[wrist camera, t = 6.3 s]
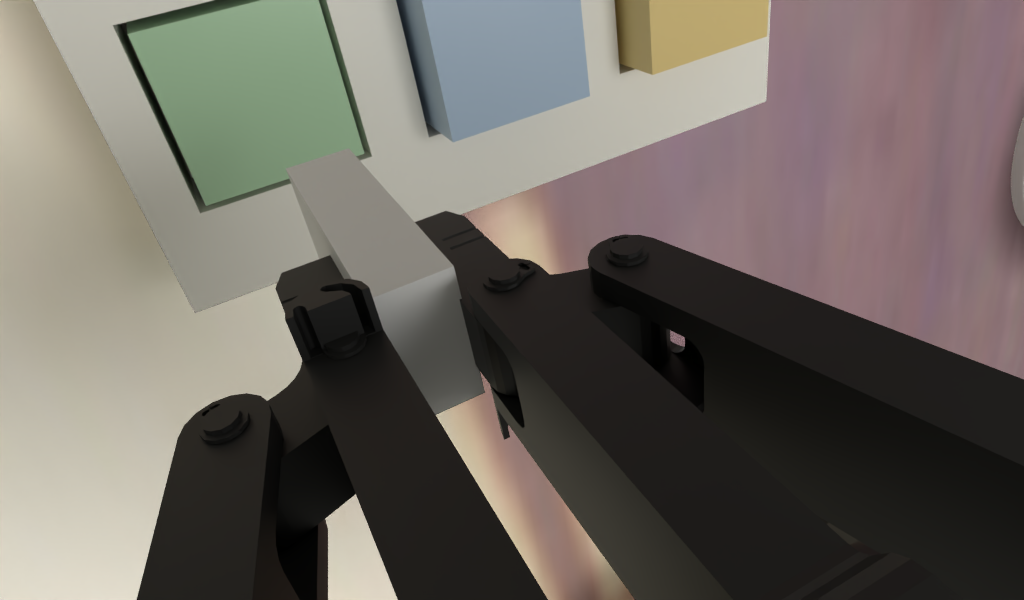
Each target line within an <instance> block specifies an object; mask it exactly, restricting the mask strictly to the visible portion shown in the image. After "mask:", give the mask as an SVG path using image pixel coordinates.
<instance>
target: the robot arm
mask: <svg viewBox="0 0 1024 600" xmlns="http://www.w3.org/2000/svg"><path fill="white" fill-rule="evenodd" d="M286 171H287V174H288V176H289V179H290V182H291V184H292V187H293V190H294V192H295V195H296V198H297V200H298V203H299V206H300V208H301V211H302V214H303V216H304V219H305V222H306V225H307V227H308V230H309V233H310V235H311V238H312V241H313V243H314V246H315V249H316V251H317V254H318V257H319V259H318V260H315V261H313V262H310V263H307V264H304V265H302V266H299V267H296V268H294V269H291V270H288V271H285V272H283V273H281V275H280V278H279V281H278V283H277V286H276V291H277V294H278V296H279V299H280V301H281V304H282V306H283V309H284V311H285V320H286V322H287V325H288V327H289V329H290V332H291V334H292V336H293V339H294V341H295V343H296V346H297V348H298V350H299V353H300V355H301V357H302V365H301V369H300V371H299V373H298V374H297V376H296V378H295V379H294V380H293V381H292V382H291V383H290V384H289V385H288V387H286V388H285V389H284V390H282V391H281V392H280V393H279V394H277V395H276V396H274V397H273V398H271V399H270V400H268V401H266V400H265V399H264V398H262V397H261V396H258V395H253V394H247V393H246V394H239V395H232V396H228V397H226V398H223V399H220V400H218V401H215V402H213V403H211V404H210V405H208V406H206V407H205V408H203V409H202V410H200V411H199V412H197V413H196V414H195V415H194V416H193V417H192V418H191V419H190V420H189V421H188V422H187V423H186V424H185V425H184V427H183V429H182V431H181V433H180V435H179V437H178V440H177V444H176V448H175V452H174V456H173V460H172V464H171V468H170V471H169V475H168V479H167V483H166V487H165V491H164V495H163V499H162V503H161V507H160V511H159V515H158V519H157V523H156V526H155V530H154V534H153V538H152V542H151V546H150V550H149V554H148V558H147V562H146V566H145V570H144V574H143V578H142V581H141V585H140V589H139V593H138V597H137V600H328V528H327V524H326V520H325V518H326V517H328V516H329V515H330V514H331V513H333V512H334V511H335V510H336V509H337V508H339V507H340V506H341V505H342V504H344V503H345V502H346V501H347V500H349V499H350V498H351V497H352V496H354V495H355V494H356V495H357V498H358V500H359V503H360V505H361V508H362V510H363V513H364V515H365V518H366V520H367V523H368V526H369V528H370V531H371V533H372V536H373V538H374V541H375V543H376V546H377V548H378V551H379V553H380V556H381V558H382V561H383V563H384V566H385V568H386V571H387V573H388V576H389V578H390V581H391V583H392V586H393V588H394V591H395V593H396V596H397V598H398V600H548V599H547V598H546V596H545V594H544V593H543V591H542V589H541V588H540V586H539V584H538V583H537V581H536V579H535V578H534V576H533V575H532V573H531V571H530V570H529V568H528V566H527V565H526V563H525V561H524V560H523V558H522V556H521V555H520V553H519V552H518V550H517V548H516V547H515V545H514V543H513V542H512V540H511V538H510V537H509V535H508V533H507V532H506V530H505V529H504V527H503V525H502V524H501V522H500V520H499V519H498V517H497V515H496V514H495V512H494V510H493V509H492V507H491V506H490V504H489V502H488V501H487V499H486V497H485V496H484V494H483V492H482V491H481V489H480V488H479V486H478V484H477V483H476V481H475V479H474V478H473V476H472V474H471V473H470V471H469V469H468V468H467V466H466V465H465V463H464V461H463V460H462V458H461V456H460V455H459V453H458V451H457V450H456V448H455V446H454V445H453V443H452V442H451V440H450V438H449V437H448V435H447V433H446V432H445V430H444V428H443V427H442V425H441V423H440V422H439V420H438V419H437V417H436V414H438V413H441V412H443V411H445V410H447V409H450V408H452V407H454V406H456V405H458V404H461V403H463V402H465V401H467V400H469V399H472V398H474V397H476V396H478V395H480V394H483V393H485V391H484V387H483V382H482V378H481V374H480V371H481V373H482V374H483V375H484V377H485V378H486V379H487V381H488V382H489V383H490V386H491V390H492V394H493V398H494V403H495V407H496V411H497V415H498V419H499V424H500V428H501V431H502V434H503V437H504V439H506V438H509V437H510V435H509V431H508V425H509V426H510V427H511V429H512V430H513V431H514V433H515V434H516V436H517V437H518V438H519V440H520V441H521V443H522V444H523V445H524V447H525V448H526V449H527V451H528V452H529V454H530V455H531V456H532V458H533V459H534V460H535V462H536V463H537V465H538V466H539V467H540V469H541V470H542V472H543V473H544V474H545V476H546V477H547V478H548V480H549V481H550V483H551V484H552V485H553V487H554V488H555V490H556V491H557V492H558V494H559V495H560V496H561V498H562V499H563V501H564V502H565V503H566V505H567V506H568V507H569V509H570V510H571V512H572V513H573V514H574V516H575V517H576V519H577V520H578V521H579V523H580V524H581V525H582V527H583V528H584V530H585V531H586V532H587V534H588V535H589V537H590V538H591V539H592V541H593V542H594V543H595V545H596V546H597V548H598V549H599V550H600V552H601V553H602V555H603V556H604V557H605V559H606V560H607V561H608V563H609V564H610V566H611V567H612V568H613V570H614V571H615V572H616V574H617V575H618V577H619V578H620V579H621V581H622V582H623V584H624V585H625V586H626V588H627V589H628V590H629V592H630V593H631V595H632V596H633V597H634V599H635V600H1024V379H1021V378H1018V377H1016V376H1013V375H1010V374H1008V373H1005V372H1003V371H1000V370H997V369H995V368H992V367H989V366H987V365H984V364H982V363H979V362H976V361H974V360H971V359H968V358H966V357H963V356H961V355H958V354H955V353H953V352H950V351H948V350H945V349H942V348H940V347H937V346H934V345H932V344H929V343H927V342H924V341H921V340H919V339H916V338H913V337H911V336H908V335H906V334H903V333H900V332H898V331H895V330H892V329H890V328H887V327H885V326H882V325H879V324H877V323H874V322H872V321H869V320H866V319H864V318H861V317H858V316H856V315H853V314H851V313H848V312H845V311H843V310H840V309H837V308H835V307H832V306H830V305H827V304H824V303H822V302H819V301H816V300H814V299H811V298H809V297H806V296H803V295H801V294H798V293H796V292H793V291H790V290H788V289H785V288H782V287H780V286H777V285H775V284H772V283H769V282H767V281H764V280H761V279H759V278H756V277H754V276H751V275H748V274H746V273H743V272H741V271H738V270H735V269H733V268H730V267H727V266H725V265H722V264H720V263H717V262H714V261H712V260H709V259H706V258H704V257H701V256H699V255H696V254H693V253H691V252H688V251H685V250H683V249H680V248H678V247H675V246H672V245H670V244H667V243H665V242H662V241H659V240H657V239H654V238H650V237H646V236H642V235H620V236H615V237H612V238H609V239H607V240H605V241H602V242H600V243H598V244H597V245H596V246H595V247H594V248H593V249H591V251H590V253H589V256H588V265H589V268H588V269H583V270H578V271H573V272H568V273H562V274H554V275H549V274H548V273H547V272H546V271H545V270H544V269H543V268H541V267H540V266H539V265H537V264H536V263H534V262H532V261H530V260H524V259H518V258H516V259H509V258H508V257H507V256H506V255H505V254H504V253H503V252H502V251H501V250H500V249H498V248H497V247H496V246H495V245H494V244H493V243H492V242H491V241H490V240H489V239H488V238H487V237H484V234H483V233H482V232H480V231H479V230H478V229H476V228H475V226H474V225H473V224H472V223H471V222H470V221H469V220H468V219H467V218H466V217H465V216H462V215H458V214H455V213H452V212H449V211H444V212H441V213H438V214H436V215H433V216H430V217H427V218H425V219H422V220H419V221H416V222H414V221H413V220H412V219H411V217H410V216H409V215H408V214H407V213H406V212H405V211H404V210H403V209H402V207H401V206H400V205H399V204H398V203H397V202H396V201H395V200H394V198H393V197H392V196H391V195H390V194H389V193H388V192H387V191H386V189H385V188H384V187H383V186H382V185H381V184H380V183H379V182H378V180H377V179H376V178H375V177H374V176H373V175H372V174H371V173H370V171H369V170H368V169H367V168H366V167H365V166H364V165H363V164H362V162H361V161H360V160H359V159H358V158H357V157H356V156H355V155H354V153H353V152H352V151H351V150H350V149H349V148H348V149H345V150H342V151H339V152H335V153H332V154H329V155H326V156H323V157H320V158H317V159H314V160H311V161H308V162H305V163H302V164H299V165H295V166H292V167H289V168H286ZM670 330H671V331H673V332H675V333H677V334H679V335H681V336H683V337H685V347H682V346H679V345H677V344H675V343H673V342H671V341H670Z"/></svg>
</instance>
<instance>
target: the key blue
mask: <svg viewBox="0 0 1024 600" xmlns="http://www.w3.org/2000/svg"><path fill="white" fill-rule="evenodd" d="M396 2H397V6H398V10H399V15H400V19H401V23H402V27H403V31H404V35H405V40H406V44H407V48H408V52H409V56H410V60H411V65H412V69H413V73H414V77H415V81H416V85H417V90H418V94H419V98H420V102H421V106H422V110H423V115H424V119H425V122H427V123H428V124H429V125H431V126H432V127H433V128H435V129H436V130H437V131H439V132H440V133H441V134H443V135H444V136H445V137H447V138H448V139H449V140H450V141H452V142H456V141H459V140H462V139H465V138H468V137H471V136H474V135H477V134H480V133H482V132H485V131H488V130H491V129H494V128H497V127H500V126H503V125H506V124H509V123H512V122H515V121H518V120H521V119H524V118H527V117H530V116H533V115H536V114H539V113H542V112H545V111H548V110H551V109H554V108H556V107H559V106H562V105H565V104H568V103H571V102H574V101H577V100H580V99H583V98H586V97H589V96H590V91H589V80H588V70H587V60H586V50H585V40H584V30H583V20H582V9H581V0H396Z"/></svg>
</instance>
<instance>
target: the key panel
mask: <svg viewBox="0 0 1024 600" xmlns="http://www.w3.org/2000/svg"><path fill="white" fill-rule="evenodd" d="M33 1H34V3H35V5H36V7H37V9H38V11H39V13H40V15H41V16H42V18H43V20H44V22H45V24H46V26H47V28H48V30H49V32H50V34H51V36H52V38H53V40H54V42H55V44H56V45H57V47H58V49H59V51H60V53H61V55H62V57H63V59H64V61H65V63H66V65H67V67H68V69H69V71H70V73H71V74H72V76H73V78H74V80H75V82H76V84H77V86H78V88H79V90H80V92H81V94H82V96H83V98H84V100H85V102H86V103H87V105H88V107H89V109H90V111H91V113H92V115H93V117H94V119H95V121H96V123H97V125H98V127H99V129H100V131H101V132H102V134H103V136H104V138H105V140H106V142H107V144H108V146H109V148H110V150H111V152H112V154H113V156H114V158H115V160H116V161H117V163H118V165H119V167H120V169H121V171H122V173H123V175H124V177H125V179H126V181H127V183H128V185H129V187H130V189H131V190H132V192H133V194H134V196H135V198H136V200H137V202H138V204H139V206H140V208H141V210H142V212H143V214H144V216H145V218H146V219H147V221H148V223H149V225H150V227H151V229H152V231H153V233H154V235H155V237H156V239H157V241H158V243H159V245H160V247H161V248H162V250H163V252H164V254H165V256H166V258H167V260H168V262H169V264H170V266H171V268H172V270H173V272H174V274H175V276H176V277H177V279H178V281H179V283H180V285H181V287H182V289H183V291H184V293H185V295H186V297H187V299H188V301H189V303H190V304H191V306H192V308H193V310H194V312H195V313H196V312H199V311H202V310H205V309H207V308H210V307H213V306H215V305H218V304H221V303H223V302H226V301H229V300H231V299H234V298H237V297H240V296H242V295H245V294H248V293H250V292H253V291H256V290H258V289H261V288H264V287H267V286H269V285H272V284H275V283H277V282H278V281H279V278H280V275H281V273H283V272H285V271H288V270H291V269H294V268H296V267H299V266H302V265H304V264H307V263H310V262H313V261H315V260H318V259H319V257H318V254H317V251H316V249H315V246H314V243H313V241H312V238H311V235H310V233H309V230H308V227H307V225H306V222H305V219H304V216H303V214H302V211H301V208H300V206H299V203H298V200H297V198H296V195H295V192H294V190H293V187H292V184H291V182H290V179H286V180H283V181H280V182H277V183H274V184H271V185H268V186H265V187H262V188H259V189H256V190H253V191H250V192H247V193H244V194H241V195H238V196H235V197H232V198H229V199H226V200H223V201H220V202H217V203H214V204H211V205H208V206H206V205H205V203H204V201H203V198H202V196H201V194H200V192H199V190H198V188H197V185H196V183H195V181H194V179H193V177H192V174H191V172H190V170H189V168H188V166H187V163H186V161H185V159H184V157H183V155H182V153H181V150H180V148H179V146H178V144H177V142H176V139H175V137H174V135H173V133H172V131H171V128H170V126H169V124H168V122H167V120H166V118H165V115H164V113H163V111H162V109H161V107H160V104H159V102H158V100H157V98H156V96H155V93H154V91H153V89H152V87H151V85H150V83H149V80H148V78H147V76H146V74H145V72H144V69H143V67H142V65H141V63H140V61H139V58H138V56H137V54H136V52H135V50H134V48H133V45H132V43H131V41H130V39H129V37H128V34H127V23H126V22H129V21H133V20H137V19H141V18H145V17H149V16H153V15H157V14H161V13H165V12H169V11H173V10H177V9H181V8H185V7H189V6H193V5H197V4H201V3H205V2H209V1H213V0H33ZM319 3H320V6H321V10H322V13H323V16H324V20H325V23H326V26H327V30H328V33H329V36H330V40H331V43H332V46H333V50H334V53H335V57H336V60H337V63H338V67H339V70H340V73H341V77H342V80H343V83H344V87H345V90H346V93H347V97H348V100H349V103H350V107H351V110H352V113H353V117H354V120H355V123H356V127H357V130H358V133H359V137H360V140H361V144H362V147H363V150H364V154H362V155H359V156H356V157H357V158H358V159H359V160H360V161H361V162H362V164H363V165H364V166H365V167H366V168H367V169H368V170H369V171H370V173H371V174H372V175H373V176H374V177H375V178H376V179H377V180H378V182H379V183H380V184H381V185H382V186H383V187H384V188H385V189H386V191H387V192H388V193H389V194H390V195H391V196H392V197H393V198H394V200H395V201H396V202H397V203H398V204H399V205H400V206H401V207H402V209H403V210H404V211H405V212H406V213H407V214H408V215H409V216H410V217H411V219H412V220H413V221H414V222H416V221H419V220H422V219H425V218H427V217H430V216H433V215H436V214H438V213H441V212H444V211H449V212H452V213H455V214H458V215H461V214H464V213H466V212H469V211H472V210H474V209H477V208H480V207H482V206H485V205H488V204H490V203H493V202H496V201H499V200H501V199H504V198H507V197H509V196H512V195H515V194H517V193H520V192H523V191H526V190H528V189H531V188H534V187H536V186H539V185H542V184H544V183H547V182H550V181H553V180H555V179H558V178H561V177H563V176H566V175H569V174H571V173H574V172H577V171H580V170H582V169H585V168H588V167H590V166H593V165H596V164H598V163H601V162H604V161H607V160H609V159H612V158H615V157H617V156H620V155H623V154H625V153H628V152H631V151H633V150H636V149H639V148H642V147H644V146H647V145H650V144H652V143H655V142H658V141H660V140H663V139H666V138H669V137H671V136H674V135H677V134H679V133H682V132H685V131H687V130H690V129H693V128H696V127H698V126H701V125H704V124H706V123H709V122H712V121H714V120H717V119H720V118H723V117H725V116H728V115H731V114H733V113H736V112H739V111H741V110H744V109H747V108H749V107H752V106H755V105H758V104H760V103H763V102H766V93H767V72H768V50H769V29H770V8H771V0H769V8H768V30H767V37H764V38H761V39H758V40H755V41H752V42H749V43H746V44H743V45H740V46H737V47H734V48H731V49H728V50H725V51H722V52H719V53H716V54H713V55H710V56H708V57H705V58H702V59H699V60H696V61H693V62H690V63H687V64H684V65H681V66H678V67H675V68H672V69H669V70H666V71H663V72H660V73H657V74H654V75H651V74H648V73H645V72H642V71H640V70H637V69H634V68H631V67H628V66H625V65H623V64H620V63H619V56H618V42H617V29H616V15H615V1H614V0H581V9H582V20H583V30H584V40H585V50H586V60H587V70H588V80H589V91H590V96H589V97H586V98H583V99H580V100H577V101H574V102H571V103H568V104H565V105H562V106H559V107H556V108H554V109H551V110H548V111H545V112H542V113H539V114H536V115H533V116H530V117H527V118H524V119H521V120H518V121H515V122H512V123H509V124H506V125H503V126H500V127H497V128H494V129H491V130H488V131H485V132H482V133H480V134H477V135H474V136H471V137H468V138H465V139H462V140H459V141H456V142H452V141H450V140H449V139H448V138H447V137H445V136H444V135H443V134H441V133H440V132H439V131H437V130H436V129H435V128H433V127H432V126H431V125H429V124H428V123H427V122H425V119H424V115H423V110H422V106H421V102H420V98H419V94H418V90H417V85H416V81H415V77H414V73H413V69H412V65H411V60H410V56H409V52H408V48H407V44H406V40H405V35H404V31H403V27H402V23H401V19H400V15H399V10H398V6H397V2H396V0H319Z"/></svg>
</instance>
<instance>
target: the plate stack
mask: <svg viewBox="0 0 1024 600" xmlns="http://www.w3.org/2000/svg"><path fill="white" fill-rule="evenodd" d="M1011 197H1012V203H1013V207H1014V211H1015V213H1016V216H1017V218H1018V220H1019V221H1020V223H1021V224H1022V225H1023V227H1024V116H1023V119H1022V122H1021V126H1020V129H1019V133H1018V136H1017V141H1016V145H1015V150H1014V155H1013V161H1012V169H1011Z"/></svg>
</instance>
